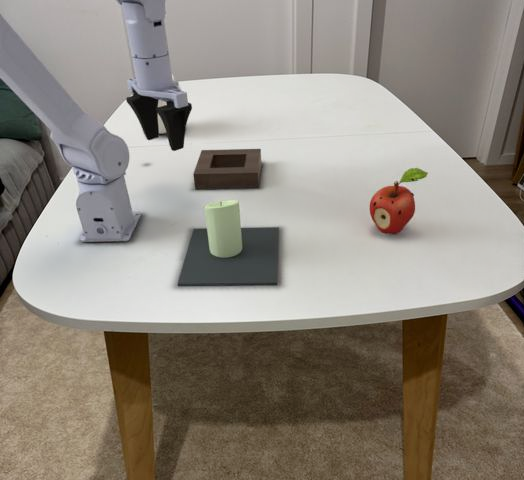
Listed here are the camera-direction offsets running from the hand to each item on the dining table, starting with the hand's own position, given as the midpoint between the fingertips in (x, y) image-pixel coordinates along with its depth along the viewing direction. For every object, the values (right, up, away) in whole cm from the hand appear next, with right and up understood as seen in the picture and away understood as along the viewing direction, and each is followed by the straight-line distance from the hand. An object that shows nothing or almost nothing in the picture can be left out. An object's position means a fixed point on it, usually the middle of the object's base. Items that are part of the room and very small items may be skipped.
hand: (164, 143), depth 88 cm
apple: (+37, -17, -7) cm, 42 cm away
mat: (+12, -21, -11) cm, 27 cm away
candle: (+11, -21, -10) cm, 25 cm away
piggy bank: (-6, +16, +33) cm, 38 cm away
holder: (+10, -2, +12) cm, 16 cm away
